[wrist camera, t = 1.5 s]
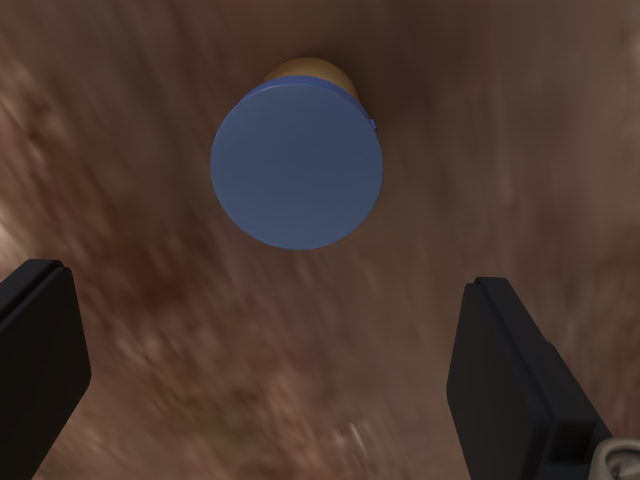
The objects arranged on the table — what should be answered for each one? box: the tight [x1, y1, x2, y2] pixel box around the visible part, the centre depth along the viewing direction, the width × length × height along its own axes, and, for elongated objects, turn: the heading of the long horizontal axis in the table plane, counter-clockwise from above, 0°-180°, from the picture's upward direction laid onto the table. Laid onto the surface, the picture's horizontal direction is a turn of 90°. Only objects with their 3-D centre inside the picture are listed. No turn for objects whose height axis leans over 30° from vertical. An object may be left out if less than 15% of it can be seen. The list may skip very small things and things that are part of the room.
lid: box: [211, 75, 384, 250], centre depth 21 cm, size 7×7×2 cm
